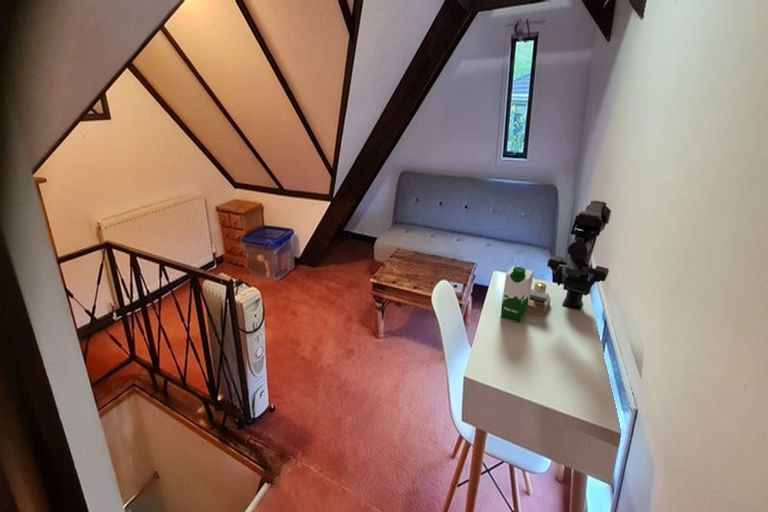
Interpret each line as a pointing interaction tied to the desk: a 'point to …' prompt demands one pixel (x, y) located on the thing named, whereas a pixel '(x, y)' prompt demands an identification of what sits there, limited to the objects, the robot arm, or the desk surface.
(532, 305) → the socket block
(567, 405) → the desk surface
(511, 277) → the milk carton
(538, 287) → the peg
